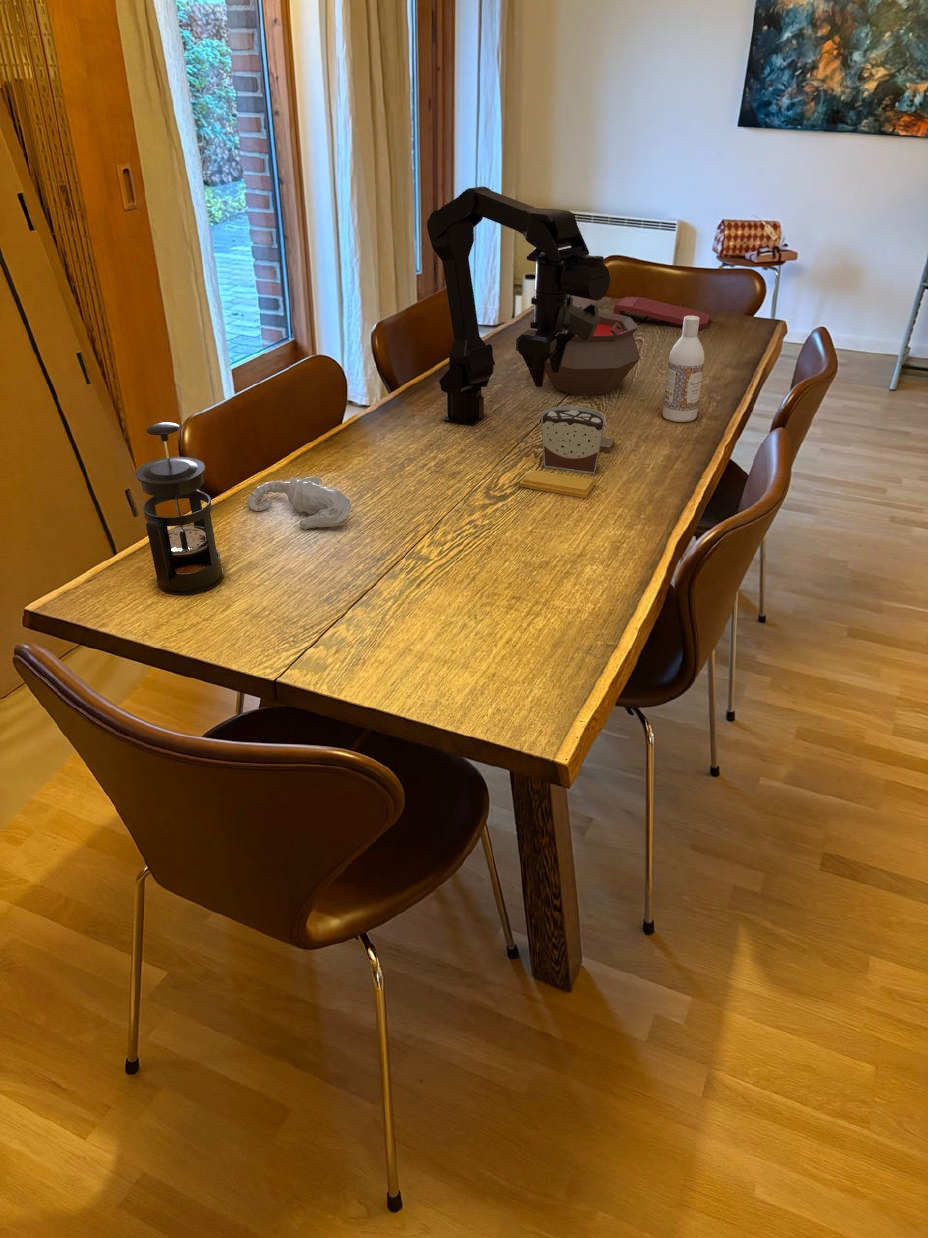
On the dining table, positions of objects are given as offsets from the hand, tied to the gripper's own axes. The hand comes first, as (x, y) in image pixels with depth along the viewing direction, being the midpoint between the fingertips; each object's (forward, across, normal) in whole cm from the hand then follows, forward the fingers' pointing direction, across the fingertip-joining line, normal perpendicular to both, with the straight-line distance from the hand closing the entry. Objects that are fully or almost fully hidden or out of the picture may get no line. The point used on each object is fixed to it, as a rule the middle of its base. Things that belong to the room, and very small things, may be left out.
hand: (547, 379), depth 167 cm
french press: (+13, -68, +30) cm, 75 cm away
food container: (+13, -6, -8) cm, 16 cm away
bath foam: (+13, +26, -20) cm, 35 cm away
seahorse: (+13, -43, +27) cm, 52 cm away
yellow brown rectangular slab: (+13, -16, -8) cm, 22 cm away
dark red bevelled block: (+13, +99, +1) cm, 100 cm away
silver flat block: (+13, +4, -8) cm, 16 cm away
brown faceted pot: (+13, +38, +4) cm, 40 cm away
